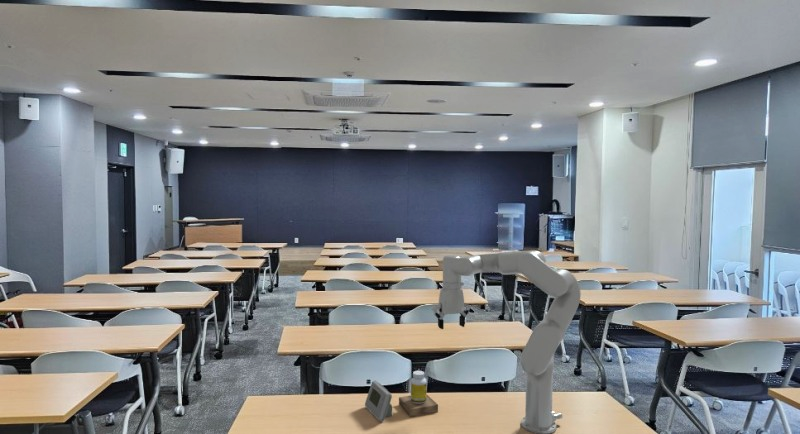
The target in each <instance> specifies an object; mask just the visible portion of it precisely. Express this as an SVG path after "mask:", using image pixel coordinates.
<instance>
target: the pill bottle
mask: <svg viewBox="0 0 800 434" xmlns="http://www.w3.org/2000/svg"><path fill="white" fill-rule="evenodd" d="M425 375H426V374H425V372H424V371H422V370H415V371H413V373H412V378H411V380H410V396H411V401H412V402H413V403H416V404H422V403H425V402H426V400H427V395H428V394H427V391H428V390H427V387H428V385H427V383H428V381H427V379H426V378H425Z"/></svg>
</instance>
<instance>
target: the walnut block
mask: <svg viewBox="0 0 800 434" xmlns="http://www.w3.org/2000/svg"><path fill="white" fill-rule="evenodd" d="M398 405H399V406H400V407H401V409H402V410H404V412H405V413H406V414H407V416H408V417H409V418H413V417H419V416H425V415H430V414H434V413H438V412H439V404H438V403H437V402H436V401H435V400H433V398H431V397H430V396H429V395H428V394H427V400H426V402H425V403H422V404H416V403H413V402H412V401H411V395H407V396H405V395H404V396H399V397H398Z"/></svg>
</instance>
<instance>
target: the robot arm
mask: <svg viewBox="0 0 800 434" xmlns="http://www.w3.org/2000/svg"><path fill="white" fill-rule="evenodd" d="M546 261H547V260H546V257H545V255H544V254H543V252H540V251H539V250H534V249H533V250H532V249H531V250H520V251H508V252H507V251H506V252H498V253H486V254H474V255H469V256H464V257H461V256H458V255H445V256H444V257H443V258H442V288H440V291H439V297H438V304H437V305H435V306H433V307H432V308H431V310H432V312H433V316H435V317H436V318H437V327H438V328H439V329H441V330H444V328H445V327H444V324H445V323H444V322H445V321H444V319H443V318H444V317H445V316H446V315H456V314H459V315H460V316H459V321H458V322H459V325H458V326H461V327H462V328H465V324H466V317H467V315H468V314H469V313H470V311H471V310H470V309H471V305H470V304H469V303H466V302H465V296H464V290H463V289H462V287H463V286H464V284H465V283H464V282H463V281H462V277H463V276H464V277H470V276H473V275H475V274H480V273H499V274H501V275H505V276H506V275H522V276H524V277H525V278H526V279H527V280H529V282H530V283H532V284H534V285H535V286H536V287H537V288H539V289H540V290H541V291H542V292H544V294H547V295H548V296H551V297H554V298H553V301H552V302H551V304H550V307H549V308H548V311H547V312H546V314H545V316H544V317H543V319H542V320H541V321H540V322H539V323H538V324H537V325H536V326H535V327H534V329H533V330H532V332H531V334H530V335H529V338H528V340H527V341H526V344H525V346H524V348H523V350H522V352H521V354H520V358H519V364H520V366H521V368H522V370H523V371H524V372H525V373H526V374H525V416H524V417H523V418H521V420H520V424H521V426H522V428H524V429H525V430H526V431H529V432H531V433H535V434H552V433H555V431H556V430H557V423H556V420H561V419H563V414H562V413H560V412H558V413H555V411H553V384H554V383H553V379H554V378H553V377H554V365H555V354H556V351H557V349H558V347H559V346H560V344H561V343H562V341H563V340H564V338H565V335H566V332H567V330H568V328H569V327H570V324H571V322H572V321H573V318H574V317H575V314H576V312H577V310H578V308H579V306H580V305H579V304H580V301H581V294H582V293H581V287H580V284H579V282H578V280H577V278H576V276H575V275H574V274H573V273H572V272H571V271H569V270H567V269H563V268H560V269H553V268H552V267H551V266H549V264H547V263H546Z"/></svg>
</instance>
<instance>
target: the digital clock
mask: <svg viewBox="0 0 800 434" xmlns="http://www.w3.org/2000/svg"><path fill="white" fill-rule="evenodd" d="M392 398H393V395H392V393H391V392H390V391H389V390H388V389H387V388H386V387H384V386H383V384H381V383H380V382H378V381H377V380H373V381H372V382H371V384H370V388H369V390H368V393H367V397H366V399H365V402H364V406H365V407H366V409H367V410H368V411H369V412H370V413H371V414H372V415H373V417H374V418H375V419H377V420H378V422H381V423H383V422H385V420H386V419H387V418H390V417H392V416H393V405H392V404H391V401H392Z"/></svg>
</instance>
